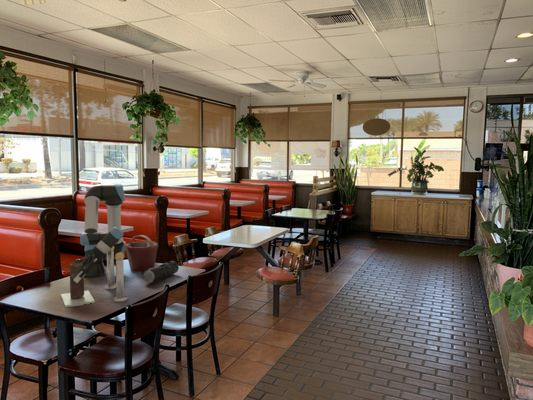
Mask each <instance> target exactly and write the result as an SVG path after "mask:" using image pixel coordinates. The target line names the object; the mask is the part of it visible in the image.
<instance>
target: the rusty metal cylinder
mask: <svg viewBox="0 0 533 400" xmlns="http://www.w3.org/2000/svg"><path fill="white" fill-rule="evenodd" d="M83 269H84V268H83V264H82V263H80V262H70V263H69V290H70V291H69V293H70V298H71V299H76V298H81V297H83V296H84V291H85V280H84V278H85V277H84V276H83V277H82V278H81V280H80V281H79V282H78V283H76V282H75V281H74V280H73V279H74V278H75V277H76V276H77V275H78V274H79V273H80V272H81V270H83Z"/></svg>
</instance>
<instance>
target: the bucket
mask: <svg viewBox="0 0 533 400" xmlns="http://www.w3.org/2000/svg"><path fill="white" fill-rule="evenodd" d="M138 237H141V238H143V239H145V240H146V241H136V242H133V241H135V240H137V238H138ZM158 247H159V244H158V242H154V241H152V239H151V238H150V237H148V236H147V235H144V234H140V235H139V234H138V235H134V236H133V237H132V238H131V239H130V240H129V243H128V244H126V246H125V253H126V256H127V260H128V265H129V270H130V271H131V270H132V272H133V273H145V271H146V270H148V269H150V268H154V267H155V266H156V265H155V264H156V259H157V252H158Z"/></svg>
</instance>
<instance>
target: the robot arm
mask: <svg viewBox="0 0 533 400" xmlns="http://www.w3.org/2000/svg"><path fill="white" fill-rule="evenodd" d="M83 201H84V202H83V203H84V204H85V210H84V211H85V213H84V231H83V232H82V233H80V238H79V240H80V242H79V243H80V245H81V246H84V250H83V251H84V259H82V260H80V262H79V263H82V264H83V270H81V272H80V273H79V274H78V275H77V276H76V277H75V278H74V279H73V280H74V281H75V282H76V283H78V282H79V281H80V280H81V278H82V277H83V276H84V278H97V277H98V278H99V277H103V276H104V275H107V268H106V267H105V264H104V260H107V252H108V251H110V249H111V248H112V247H113V246H114V259H115V255H116V253H118V252H122V253H123V254H124V255H125V253H126V245H127V244H126V242H127V241H124V238H123V237H124V233H123V232H122V222H121V221H122V218H121V216H122V215H121V212H122V211H121V210H122V209H121V206H122V205H123V204H124V202H125V201H126V198H125V189H124V186H123V185H122V184H119V183H118V184H117V183H103V184H101V183H100V184H99V183H98V184H95V185H93V186H91V187H90V188H89V189H88V190H87V191H86V193H85V194H84V200H83ZM101 202H104V205H105V206H106V207H107V209H106V210H107V231H104V232H100V231H99V229H98V228H99V205H100V203H101ZM98 231H99V232H98ZM115 260H116V259H115Z"/></svg>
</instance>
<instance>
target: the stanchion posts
mask: <svg viewBox="0 0 533 400" xmlns="http://www.w3.org/2000/svg"><path fill="white" fill-rule="evenodd" d="M124 259H125V254H123V253H122V252H118V253H116V255H115V260H114V246H113V247H112V248H111V249H110V251H108V252H107V259H106V277H107V279H106V281H107V284H105V285H104V289H105V290H108V291H111V290H112V291H113V290H116V296H114V298H113V301H114V303H123V302H126V301H127V300H128V297H127V295H125V281H124V279H125V278H124V276H125V275H124V274H125V273H124V272H125V270H124ZM114 263H115V264H114ZM115 271H116V273H115ZM115 274H116V275H115ZM115 278H116V280H115ZM115 281H116V283H115Z"/></svg>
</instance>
